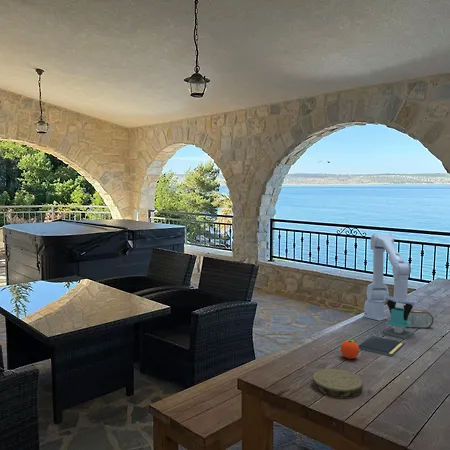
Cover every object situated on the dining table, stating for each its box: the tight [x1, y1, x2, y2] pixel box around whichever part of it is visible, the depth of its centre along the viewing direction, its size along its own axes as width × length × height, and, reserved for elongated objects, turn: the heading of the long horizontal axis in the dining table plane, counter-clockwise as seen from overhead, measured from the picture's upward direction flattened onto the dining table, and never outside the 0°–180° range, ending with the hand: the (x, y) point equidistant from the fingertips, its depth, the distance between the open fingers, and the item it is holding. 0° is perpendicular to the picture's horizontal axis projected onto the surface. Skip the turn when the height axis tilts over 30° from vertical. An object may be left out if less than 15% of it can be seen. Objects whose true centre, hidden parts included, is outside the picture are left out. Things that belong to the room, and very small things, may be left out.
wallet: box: [358, 335, 406, 358], centre depth 178 cm, size 20×2×15 cm
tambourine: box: [312, 368, 364, 399], centre depth 139 cm, size 16×16×3 cm
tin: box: [406, 309, 434, 329], centre depth 205 cm, size 15×3×8 cm, turn 84°
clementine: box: [340, 339, 360, 360], centre depth 164 cm, size 8×7×7 cm
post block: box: [382, 325, 415, 340], centre depth 194 cm, size 10×10×5 cm
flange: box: [386, 306, 411, 329], centre depth 194 cm, size 8×8×7 cm
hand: (399, 318), depth 194 cm, fingers closed on flange, 5 cm apart
